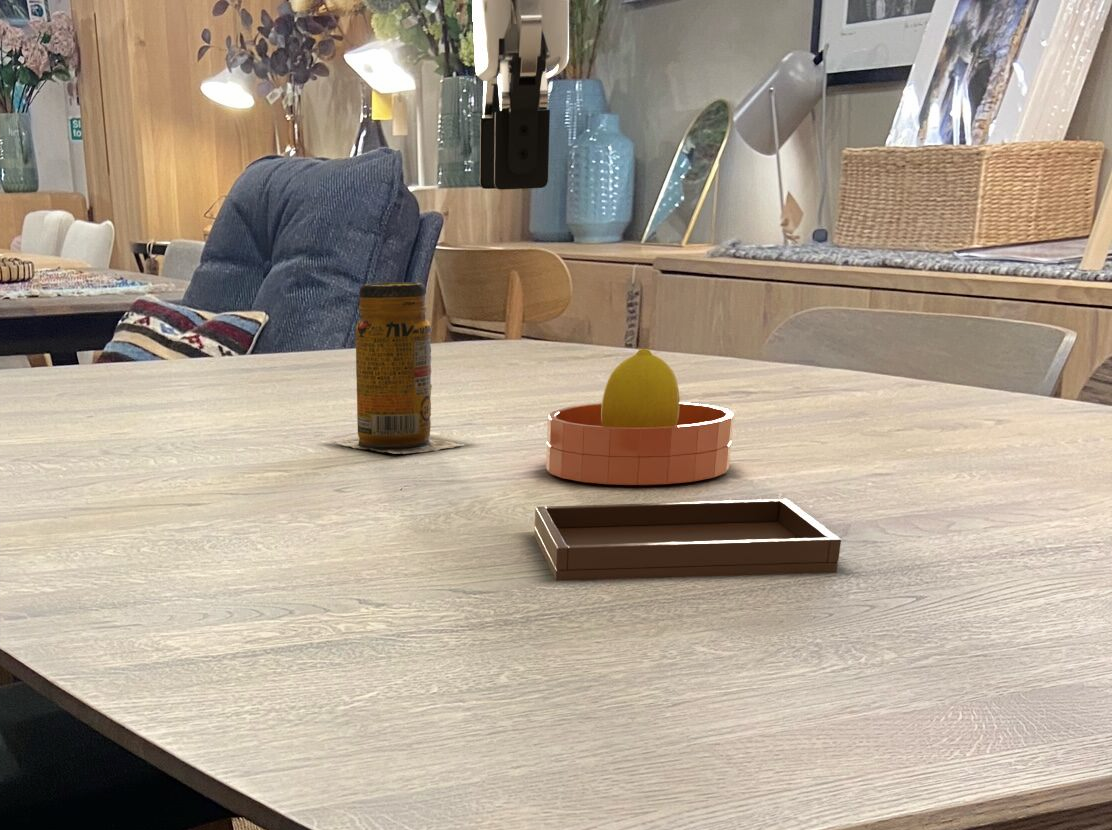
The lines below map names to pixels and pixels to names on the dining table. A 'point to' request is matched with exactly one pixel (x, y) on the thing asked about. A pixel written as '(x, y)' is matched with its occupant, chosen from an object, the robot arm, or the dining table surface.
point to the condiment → (394, 370)
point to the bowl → (639, 447)
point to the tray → (683, 540)
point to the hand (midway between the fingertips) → (512, 188)
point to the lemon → (641, 393)
